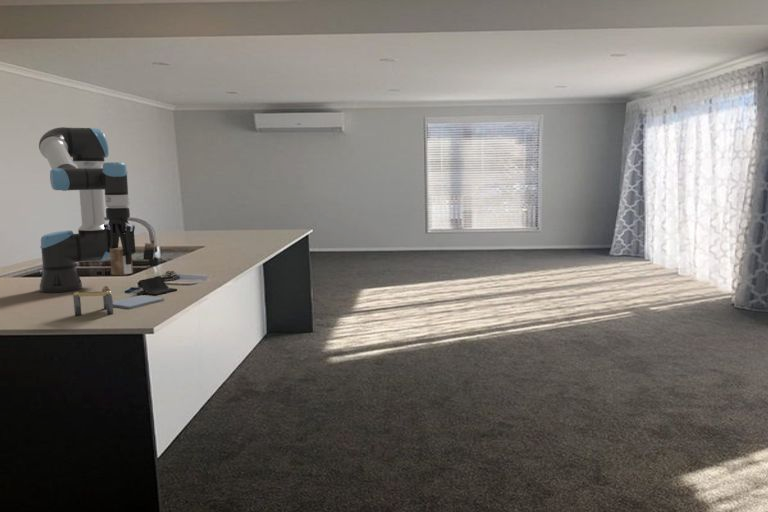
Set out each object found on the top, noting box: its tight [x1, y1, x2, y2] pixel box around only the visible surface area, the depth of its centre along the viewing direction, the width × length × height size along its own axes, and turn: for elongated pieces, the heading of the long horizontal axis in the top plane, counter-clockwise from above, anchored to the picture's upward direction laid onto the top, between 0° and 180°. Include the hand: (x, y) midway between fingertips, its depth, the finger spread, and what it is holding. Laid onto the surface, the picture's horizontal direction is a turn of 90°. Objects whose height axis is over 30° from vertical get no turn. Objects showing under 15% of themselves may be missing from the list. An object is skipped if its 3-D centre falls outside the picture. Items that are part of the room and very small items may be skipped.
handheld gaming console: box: [138, 275, 178, 297], centre depth 234 cm, size 12×7×10 cm
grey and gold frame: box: [72, 285, 114, 317], centre depth 200 cm, size 10×13×8 cm
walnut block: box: [109, 246, 134, 276], centre depth 210 cm, size 5×5×9 cm
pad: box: [113, 295, 165, 310], centre depth 215 cm, size 12×15×1 cm
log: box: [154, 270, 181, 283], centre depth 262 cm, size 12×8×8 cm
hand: (122, 272), depth 210 cm, fingers closed on walnut block, 5 cm apart
